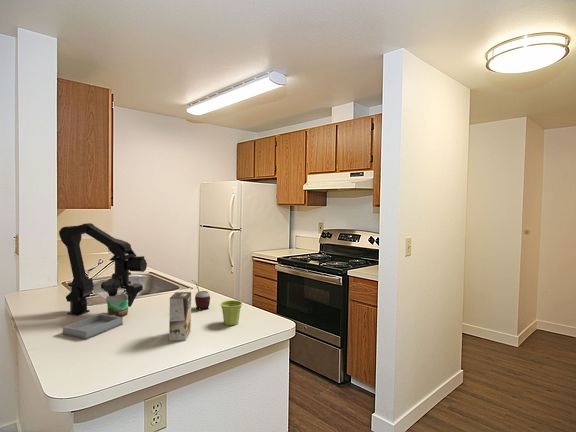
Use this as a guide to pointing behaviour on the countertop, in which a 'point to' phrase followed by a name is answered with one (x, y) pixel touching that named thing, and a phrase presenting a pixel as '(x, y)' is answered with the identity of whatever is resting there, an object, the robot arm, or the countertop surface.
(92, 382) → the countertop surface
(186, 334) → the coffee box
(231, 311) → the plant pot
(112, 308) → the food container
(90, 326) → the tray
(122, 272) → the robot arm
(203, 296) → the mate gourd
